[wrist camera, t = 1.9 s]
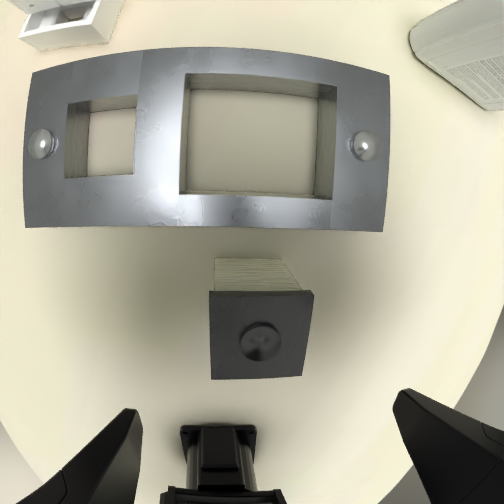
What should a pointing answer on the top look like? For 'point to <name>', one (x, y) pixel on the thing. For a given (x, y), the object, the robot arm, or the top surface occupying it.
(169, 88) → the metal cover plate
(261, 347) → the drawer with knob
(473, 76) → the photo printer
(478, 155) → the top surface
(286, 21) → the top surface
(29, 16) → the white angled block
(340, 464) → the top surface
